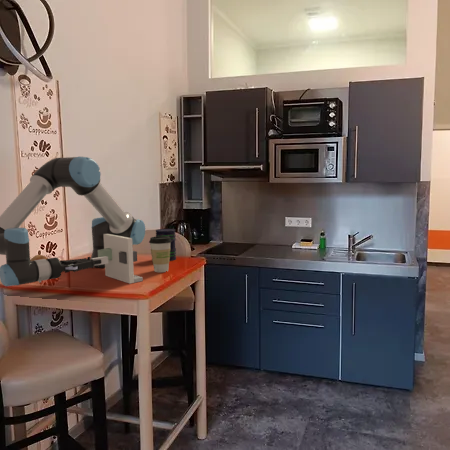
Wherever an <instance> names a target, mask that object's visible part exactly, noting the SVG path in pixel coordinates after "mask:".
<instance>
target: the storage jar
mask: <svg viewBox="0 0 450 450" xmlns="http://www.w3.org/2000/svg"><path fill="white" fill-rule="evenodd" d="M157 236H168V237H170V240H171V243H170V260H169V262H172V261H176V260H177V248H176V228H158V229H155V237H157Z"/></svg>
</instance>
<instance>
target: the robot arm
mask: <svg viewBox="0 0 450 450" xmlns="http://www.w3.org/2000/svg"><path fill="white" fill-rule="evenodd" d="M101 175H102V173H101V171H100V167H99V164H98V163H97V162H96V160H94V159H93V158H91V157H88V156H73V157H70V156H69V157H55V158H52V159H51V160H48V161H47V162H46V163H45V162H44V164H42V166H40V167H39V168H38V169H37V170H36V171H35V172H34V173H33V174H32V175H31V177H30V178H29V181H30V182H29V183H28V184H27V185H26V186H25V187H24V188H23V190H21V192H20V193H19V194H17V196H16V198H15V199H14V200H13V201H12V202H11V203H10V204H9V205H8V207H7V208H5V210H4V211H3V212H2V213H1V214H0V255H1V256H5V261H6V263H5V264H1V266H0V282H1V284H2V286H5V287H12V286H20V285H25V284H30V283H35V282H36V283H37V282H38V283H42V281H47V280H55V279H59V278H60V277H62V274H63V272H64V273H65V274H66V273H70V272H73V273H76V272H78V271H83V270H86V269H94V268H99V269H101V268H104V269H105V264H108V257H107V256H104V257H98V250H101V249H104V236H103V234H112V235H117V236H123V237H128V238H132V244H133V246H137V245H139V244H141V243H142V242H143V241H144V239H145V236H146V226H145V222H144V221H143V220H142V219H139V218H138V219H137V218H134V216H133V215H132V214H131V213H129V212H127V211H124V210H123V208H122V207H121V206H120V205H119V204H118V202H117V201H116V200H115V199H114V198H113V196H112V195H111V194H110V193H109V191H108V190H107V189H106V188H105V187H104V185H103V184H102V183H101V179H102V178H101ZM61 187H62V188H64V187H65V188H66V187H67V188H71V189H72V190H73V191H74V192H75V194H76V195H78V196H84V198H85V199H86V200H87V201H88V202H89V203H90V205H92V207H93V208H94V209H95V210H96V211H97V212H98V214H99V215H100V216H101V217H96V218H93V219H92V220H91V236H92V252H91V255H90V256H87V258H86V257H83V258H75V259H64V260H60V259H59V258H58V257H50V258H48V257H47V258H48V259H40V260H34V261H30V260H31V253H30V252H31V251H30V238H29V231H28V229H27V228H26V227H21V225H22V224H23V223H24V222H25V221H26V220H27V218H28V217H29V216H30V215H31V214H32V212H33V211H34V210H35V209H36V208H37V206H38V205H39V204H40V203H41V202H42V200H43V199H44V198H45V197H46V196H47V195H50V194H52V192H53V191H54V190H56V189H57V188H61Z"/></svg>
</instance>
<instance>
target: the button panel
mask: <svg viewBox="0 0 450 450" xmlns="http://www.w3.org/2000/svg"><path fill="white" fill-rule="evenodd" d="M103 236H104V249H108V248H111V249H112V259H110V260H108V264H105V267H104V271H105V275H104V276H106V277H108V278H111V279H115V280H117V281H121V282H124V283H127V284H134V283H140V282H144V281H143V280H144V278H143V276H139V275H136V274H135V271H134V270H135V268H134V262H133V251H134V250H133V247H134V245H133V244H132V238H128V237H123V236H117V235H112V234H103ZM119 252H126V253H127V263H121V262H119Z"/></svg>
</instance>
